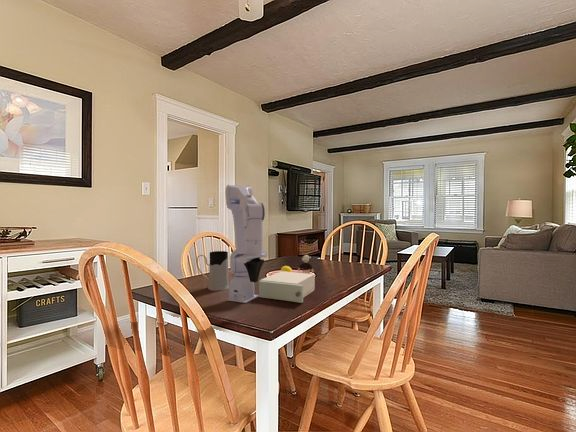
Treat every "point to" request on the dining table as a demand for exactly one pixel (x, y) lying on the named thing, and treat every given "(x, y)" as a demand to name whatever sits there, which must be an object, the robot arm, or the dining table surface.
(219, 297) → the dining table surface
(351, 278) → the dining table surface
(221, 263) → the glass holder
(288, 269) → the lemon
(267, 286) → the door
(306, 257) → the grandmother figurine
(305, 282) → the cabinet
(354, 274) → the dining table surface
